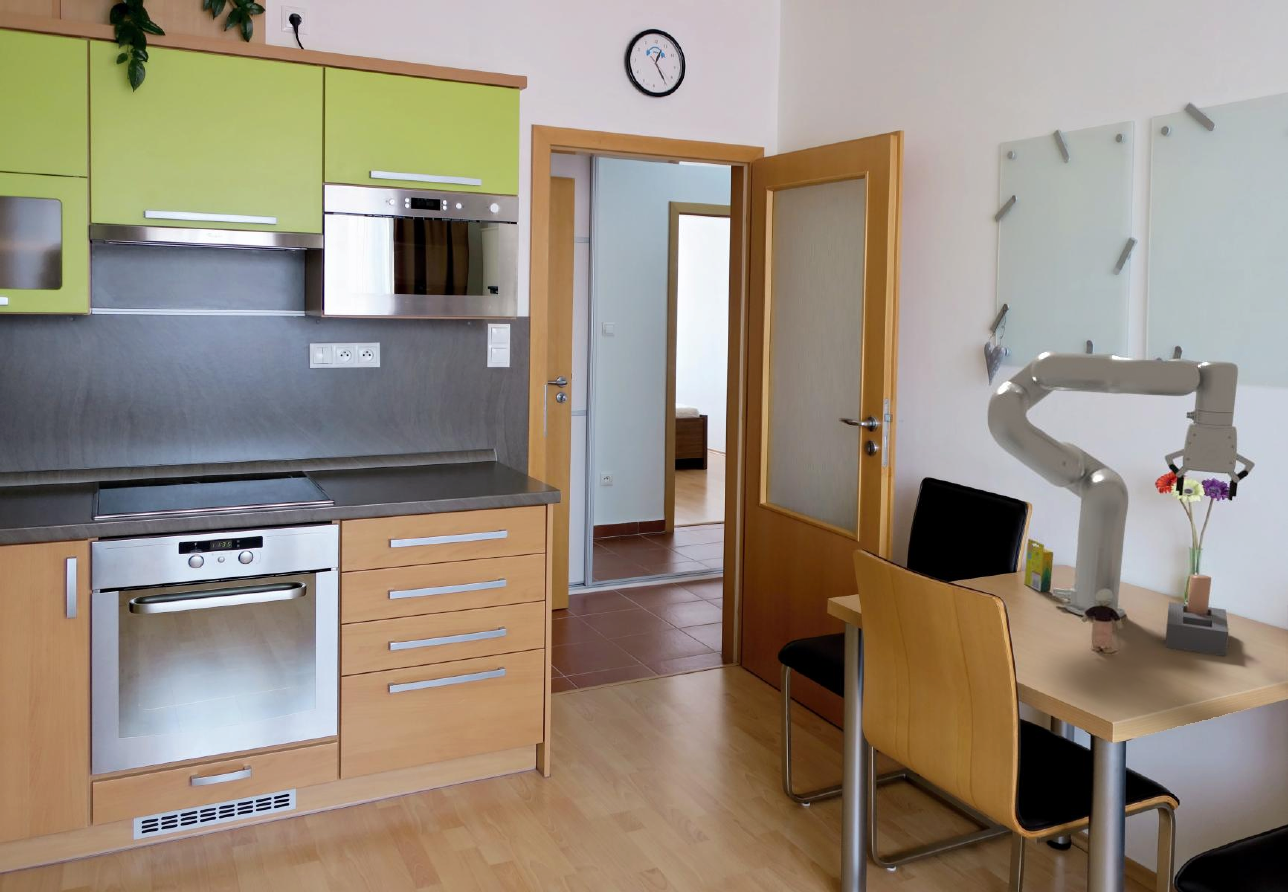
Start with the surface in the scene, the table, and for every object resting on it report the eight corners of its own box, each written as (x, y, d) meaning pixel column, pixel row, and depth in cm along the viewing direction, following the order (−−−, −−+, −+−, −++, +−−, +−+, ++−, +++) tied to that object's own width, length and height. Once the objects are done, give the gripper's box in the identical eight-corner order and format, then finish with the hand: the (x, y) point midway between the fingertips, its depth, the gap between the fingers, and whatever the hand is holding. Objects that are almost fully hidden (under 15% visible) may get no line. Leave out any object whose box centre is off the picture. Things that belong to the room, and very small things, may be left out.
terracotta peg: (1185, 627, 232) (1190, 577, 231) (1185, 622, 236) (1190, 573, 234) (1206, 630, 231) (1211, 580, 229) (1205, 625, 234) (1211, 575, 233)
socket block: (1165, 646, 224) (1167, 623, 223) (1166, 623, 240) (1169, 601, 239) (1225, 656, 219) (1228, 632, 218) (1223, 631, 235) (1225, 609, 234)
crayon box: (1050, 591, 263) (1054, 544, 262) (1039, 592, 263) (1043, 545, 261) (1034, 583, 270) (1038, 537, 269) (1023, 583, 270) (1027, 538, 268)
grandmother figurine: (1119, 649, 222) (1124, 588, 220) (1120, 654, 218) (1126, 593, 216) (1078, 644, 224) (1083, 584, 222) (1079, 649, 220) (1084, 589, 219)
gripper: (1168, 417, 235) (1160, 495, 237) (1260, 424, 227) (1251, 504, 230) (1169, 414, 242) (1161, 490, 244) (1258, 420, 234) (1249, 498, 237)
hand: (1205, 497), depth 237 cm, fingers open, 9 cm apart
